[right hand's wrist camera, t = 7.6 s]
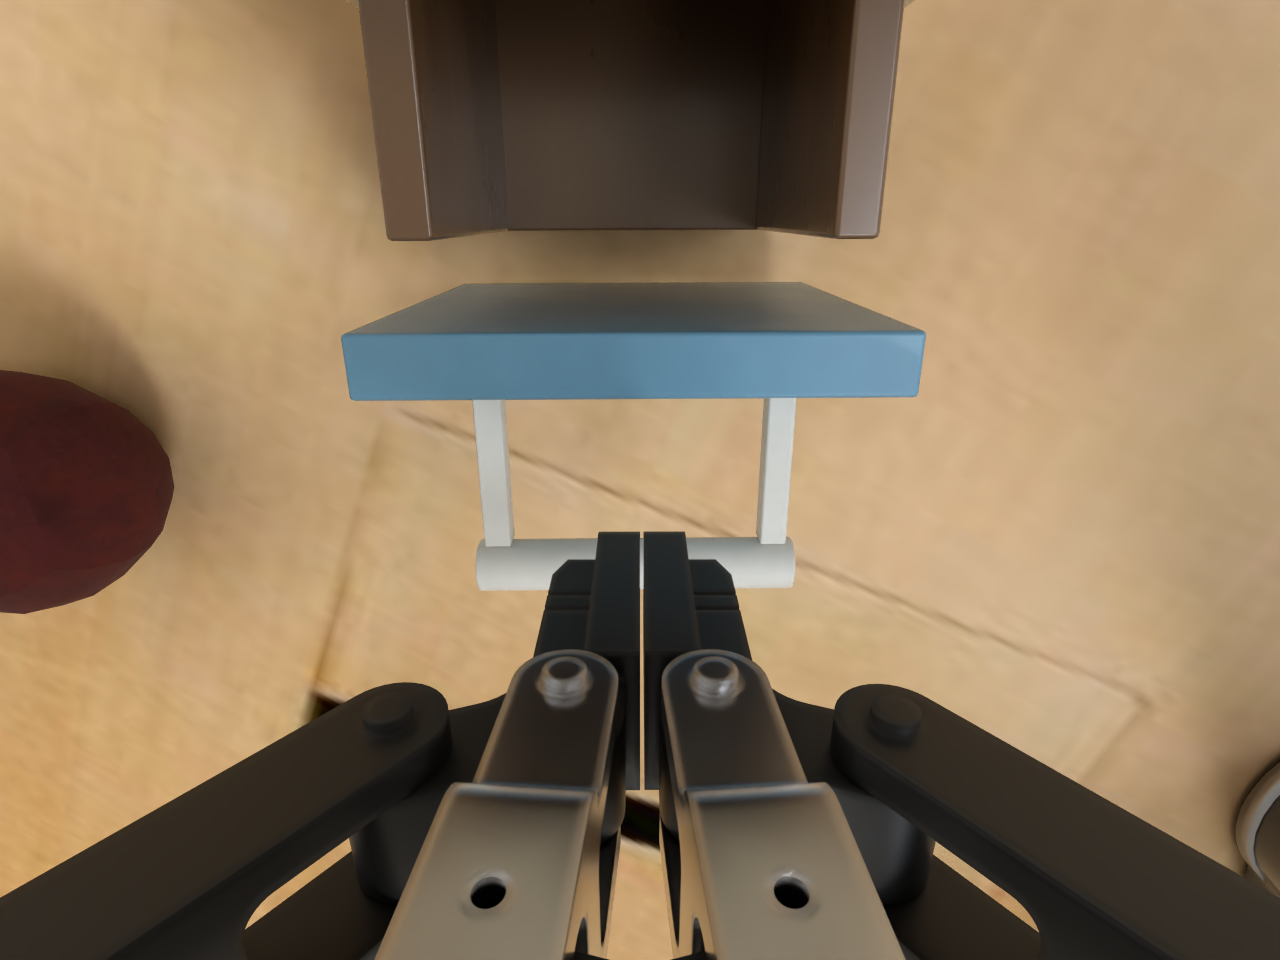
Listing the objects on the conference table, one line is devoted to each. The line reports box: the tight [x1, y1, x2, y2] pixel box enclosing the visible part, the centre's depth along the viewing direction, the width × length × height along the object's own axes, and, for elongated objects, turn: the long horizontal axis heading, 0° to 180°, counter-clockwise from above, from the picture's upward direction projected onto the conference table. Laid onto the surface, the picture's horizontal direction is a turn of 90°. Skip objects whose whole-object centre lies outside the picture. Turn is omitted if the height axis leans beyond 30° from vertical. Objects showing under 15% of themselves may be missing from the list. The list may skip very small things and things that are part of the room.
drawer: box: [341, 0, 926, 591], centre depth 16 cm, size 19×10×10 cm, turn 0°
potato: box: [0, 370, 174, 614], centre depth 21 cm, size 7×8×7 cm
